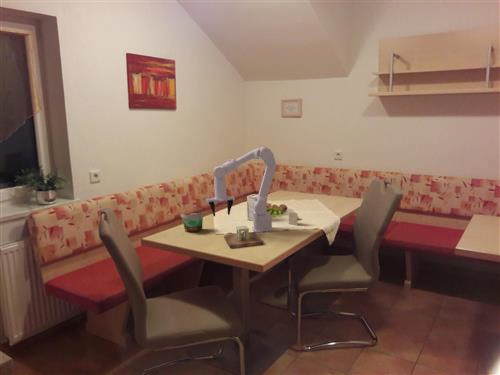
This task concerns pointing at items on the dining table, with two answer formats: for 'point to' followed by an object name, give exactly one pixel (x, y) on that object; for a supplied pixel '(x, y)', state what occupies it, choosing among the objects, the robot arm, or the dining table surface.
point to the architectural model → (293, 218)
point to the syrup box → (251, 205)
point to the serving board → (243, 240)
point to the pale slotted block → (240, 229)
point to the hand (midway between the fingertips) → (221, 215)
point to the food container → (193, 222)
